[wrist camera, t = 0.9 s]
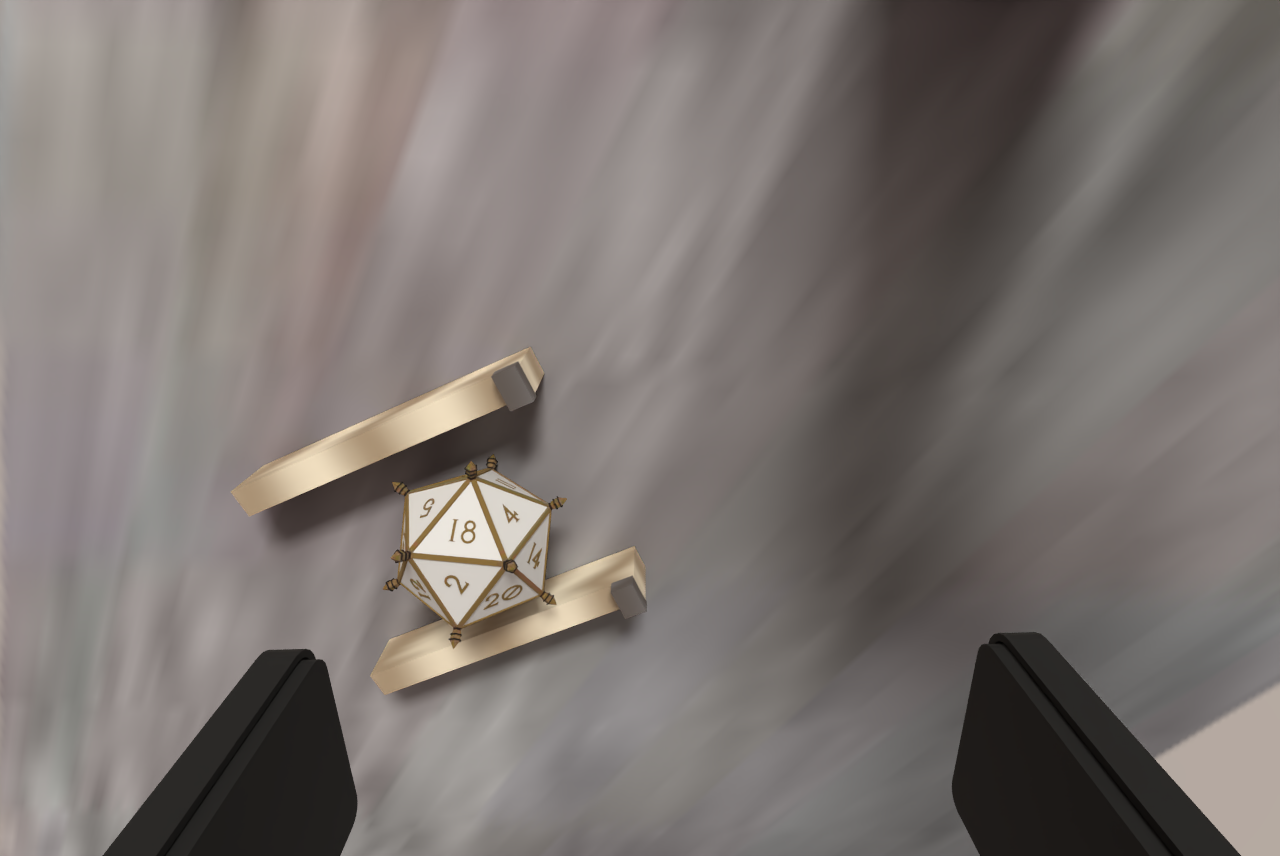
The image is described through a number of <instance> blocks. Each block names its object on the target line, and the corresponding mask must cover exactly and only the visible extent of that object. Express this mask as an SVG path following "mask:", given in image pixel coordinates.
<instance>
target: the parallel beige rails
mask: <svg viewBox="0 0 1280 856" xmlns="http://www.w3.org/2000/svg"><path fill="white" fill-rule="evenodd" d="M543 375H544V372H543V370H542V368H541V366H540V364H539V362H538V360H537V358H536V356H535V355H534V353H533V351H532V349H531V347H529V348H526V349H524V350H522V351H520V352H517V353H515V354H513V355H511V356H509V357H506V358H504V359H502V360H500V361H497V362H495V363H493V364H491V365H488V366H486V367H484V368H482V369H479V370H477V371H475V372H473V373H470V374H468V375H466V376H464V377H461V378H459V379H457V380H455V381H452V382H450V383H448V384H446V385H443V386H441V387H439V388H437V389H434V390H432V391H430V392H428V393H425V394H423V395H421V396H419V397H416V398H414V399H412V400H410V401H407V402H405V403H403V404H401V405H398V406H396V407H394V408H392V409H390V410H387V411H385V412H383V413H381V414H378V415H376V416H374V417H372V418H369V419H367V420H365V421H363V422H360V423H358V424H356V425H354V426H351V427H349V428H347V429H345V430H342V431H340V432H338V433H336V434H333V435H331V436H329V437H327V438H324V439H322V440H320V441H318V442H315V443H313V444H311V445H309V446H306V447H304V448H302V449H300V450H297V451H295V452H293V453H291V454H288V455H286V456H284V457H282V458H279V459H277V460H275V461H273V462H270V463H268V464H266V465H264V466H262V467H261V468H260V469H259V470H257V471H256V472H255V473H254V474H252V475H251V476H250V477H249V478H247V479H246V480H245V481H244V482H242V483H241V484H240V485H239V486H237V487H236V488H235V489H234V490H232V491H231V493H232V494H233V496H234V497H235V498H236V500H237V501H238V502H239V504H240V505H241V506H242V508H243V509H244V510H245V511H246V513H247V514H248V515H249V516H251V515H254V514H256V513H258V512H261V511H263V510H265V509H268V508H270V507H272V506H275V505H277V504H279V503H282V502H284V501H286V500H289V499H291V498H293V497H295V496H298V495H300V494H302V493H305V492H307V491H309V490H312V489H314V488H316V487H319V486H321V485H323V484H326V483H328V482H330V481H332V480H335V479H337V478H339V477H342V476H344V475H346V474H349V473H351V472H353V471H356V470H358V469H360V468H363V467H365V466H367V465H369V464H372V463H374V462H376V461H379V460H381V459H383V458H386V457H388V456H390V455H393V454H395V453H397V452H400V451H402V450H404V449H406V448H409V447H411V446H413V445H416V444H418V443H420V442H423V441H425V440H427V439H430V438H432V437H434V436H437V435H439V434H441V433H443V432H446V431H448V430H450V429H453V428H455V427H457V426H460V425H462V424H464V423H467V422H469V421H471V420H474V419H476V418H478V417H480V416H483V415H485V414H487V413H490V412H492V411H494V410H497V409H499V408H501V407H504V406H506V405H507V407H508V408H509V410H510V412H511V411H513V410H516V409H518V408H520V407H523V406H525V405H527V404H529V403H532V402H534V400H535V398H536V396H537V395H536V394H535V392H536V390H537V388H538V386H539V384H540V382H541V379H542V377H543ZM544 591H545V592H547V593H549V592H550V594H551V595H554V598H555V601H556V604H557V605H550V604H548V605H546V604H547V603H546V602H543V600H542V598H541V597H537V598H535V599H533V600H530V601H528V602H525V603H523V604H521V605H518V606H516V607H513V608H511V609H509V610H506V611H504V612H501V613H499V614H497V615H494V616H492V617H489V618H487V619H485V620H482V621H480V622H477V623H475V624H472V625H470V626H468V627H465V628H463V629H461V634H462V636H461V642H459V643H458V644H457V645H456V647H455V648H454V649H453V647H452V645H451V642H450V640H448V639H449V638H450V637H451V635H450V633H452V631H453V627H452V626H451V625H450V624H448V623H447V622H446V621H445V620H444V619H442V620H439V621H437V622H434V623H431V624H429V625H426V626H423V627H421V628H418V629H416V630H413V631H410V632H408V633H405V634H402V635H400V636H397V637H395V638H392V639H390V640H389V641H388V643H387V645H386V647H385V649H384V651H383V653H382V655H381V656H380V658H379V660H378V662H377V664H376V666H375V668H374V670H373V671H372V673H371V675H370V676H371V678H372V679H373V680H374V681H375V683H376V684H377V685H378V687H379V688H380V689H381V691H382V692H383V693H384V695H386V694H389V693H392V692H394V691H397V690H400V689H403V688H405V687H408V686H411V685H414V684H416V683H419V682H422V681H424V680H427V679H430V678H433V677H435V676H438V675H441V674H444V673H446V672H449V671H452V670H455V669H457V668H460V667H463V666H465V665H468V664H471V663H474V662H476V661H479V660H482V659H485V658H487V657H490V656H493V655H496V654H498V653H501V652H504V651H507V650H509V649H512V648H515V647H517V646H520V645H523V644H526V643H528V642H531V641H534V640H537V639H539V638H542V637H545V636H548V635H550V634H553V633H556V632H558V631H561V630H564V629H567V628H569V627H572V626H575V625H578V624H580V623H583V622H586V621H589V620H591V619H594V618H597V617H599V616H602V615H605V614H608V613H610V612H613V611H616V610H619V609H620V611H621V612H622V614H623V616H624V618H625V619H627V618H630V617H633V616H636V615H638V614H641V613H644V612H647V602H646V600H645V565H644V564H643V562H642V560H641V558H640V556H639V554H638V552H637V550H636V548H635V546H633V547H631V548H628V549H626V550H623V551H620V552H618V553H615V554H612V555H610V556H607V557H605V558H602V559H599V560H597V561H594V562H591V563H589V564H586V565H584V566H581V567H578V568H576V569H573V570H570V571H568V572H565V573H563V574H560V575H557V576H555V577H552V578H549V579H547V580H545V586H544Z"/></svg>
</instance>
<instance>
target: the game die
mask: <svg viewBox="0 0 1280 856" xmlns="http://www.w3.org/2000/svg"><path fill="white" fill-rule="evenodd" d="M497 462H498V461H497V460H496V458H495V456H494V454H493V455H492V456H491V457H490V458H488V459H487V464H486V465H487V468H486V469H483V470H480V471H477V465H475V464H474V463H473V462H472V461H471V462H470V463H469V464H468V465H467V466H466V467H465V468H464V469H465V470H466V472H465V474H466V475H462V476H459V477H455V478H452V479H448V480H445V481H441V482H438V483H434V484H431V485H428V486H424V487H421V488H417V489H414V490H408V488H407V485H404V484H403V482H401V483H398V482H392V483H393V486H394V489H395V492H398V493H399V494H402V495H404V496H405V502H404V513H403V524H402V535H401V546H400V551H399V550H396V552H395V553H394V555H393V556H392V557H391V559H393V560H394V561H395V563H399V567H398V578H397V579H394V578H393V579H392V580H389V581H387V582H386V585H385V586H384V588H383V589H382V590H390V591H393V590H394V589H397V587H398V586H399V585H402V586H403V587H405V588H406V589H407V590H408V591H409V592H411V593H412V594H413V595H414V596H416V597H417V598H418V599H419V600H420V601H422V602H423V603H424V604H425V605H426V606H428V607H429V608H430V609H431V610H433V611H434V612H435V613H436V614H437V615H439V616H440V617H441V618H442V619H444V620H445V621H446V622H447V623H448V624H450V625H451V626H452V627H453V631H452V633H450V635H451V637H450V638H449V639H448V640H450V642H451V645H452V647H453V649H454V648H455V647H456V645H457V644H458V643H459V642H461V636H462V634H461V629H463V628H465V627H468V626H470V625H472V624H475V623H477V622H480V621H482V620H485V619H487V618H489V617H492V616H494V615H497V614H499V613H501V612H504V611H506V610H509V609H511V608H513V607H516V606H518V605H521V604H523V603H525V602H528V601H530V600H533V599H535V598H537V597H541V598H542V600H543V602H546V603H547V604H546V605H548V604H550V605H557V604H556V601H555V598H554V595H551V594H550V592H549V593H547V592H545V591H544V586H545V575H546V564H547V554H548V543H549V532H550V522H551V511H552V509H558V508H559V507H562V506H563V504H564V502H565V501H566V500H567V498H559V497H558V496H557V498H556V499H552V500H553V501H552V502H551V503H547V502H545V501H544V500H542V499H540V498H539V497H537V496H535V495H534V494H532V493H531V492H529V491H527V490H526V489H524V488H523V487H521V486H519V485H518V484H516V483H515V482H513V481H511V480H510V479H508V478H507V477H505V476H503V475H502V474H500V473H499V472H497V471H495V470H494V468H495V467H496V466H497V465H496V463H497Z"/></svg>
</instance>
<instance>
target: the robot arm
mask: <svg viewBox="0 0 1280 856" xmlns="http://www.w3.org/2000/svg"><path fill="white" fill-rule="evenodd" d="M952 793H953V799H954V802H955V806H956V809H957V811H958V813H959V815H960V817H961V819H962V821H963V823H964V825H965V827H966V829H967V831H968V833H969V835H970V837H971V839H972V841H973V843H974V844H975V846H976V848H977V850H978V852H979V854H980V856H1241V855H1240V854H1239V853H1238V852H1237V851H1236V850H1235V848H1234V847H1233V846H1232V845H1231V844H1230V843H1229V842H1228V841H1227V839H1225V837H1224V836H1223V835H1222V834H1221V833H1220V832H1219V831H1218V829H1217V828H1216V827H1215V826H1214V825H1213V824H1212V823H1211V822H1210V821H1209V819H1208V818H1207V817H1206V816H1205V815H1204V814H1203V813H1202V812H1201V810H1200V809H1199V808H1198V807H1197V806H1196V805H1195V804H1194V803H1193V802H1192V800H1191V799H1190V798H1189V797H1188V796H1187V795H1186V794H1185V793H1184V792H1183V790H1182V789H1181V788H1180V787H1179V786H1178V785H1177V784H1176V783H1175V782H1174V780H1173V779H1172V778H1171V777H1170V776H1169V775H1168V774H1167V773H1166V771H1165V770H1164V769H1163V768H1162V767H1161V766H1160V765H1159V764H1158V763H1157V761H1156V760H1155V759H1154V758H1153V757H1152V756H1151V755H1150V754H1149V752H1148V751H1147V750H1146V749H1145V748H1144V747H1143V746H1142V745H1141V744H1140V742H1139V741H1138V740H1137V739H1136V738H1135V737H1134V736H1133V735H1132V734H1131V732H1130V731H1129V730H1128V729H1127V728H1126V727H1125V726H1124V725H1123V723H1122V722H1121V721H1120V720H1119V719H1118V718H1117V717H1116V716H1115V715H1114V713H1113V712H1112V711H1111V710H1110V709H1109V708H1108V707H1107V706H1106V705H1105V703H1104V702H1103V701H1102V700H1101V699H1100V698H1099V697H1098V696H1097V695H1096V693H1095V692H1094V691H1093V690H1092V689H1091V688H1090V687H1089V686H1088V684H1087V683H1086V682H1085V681H1084V680H1083V679H1082V678H1081V677H1080V676H1079V674H1078V673H1077V672H1076V671H1075V670H1074V669H1073V668H1072V667H1071V666H1070V664H1069V663H1068V662H1067V661H1066V660H1065V659H1064V658H1063V657H1062V655H1061V654H1060V653H1059V652H1058V651H1057V650H1056V649H1055V648H1054V647H1053V645H1052V644H1051V643H1050V642H1049V641H1048V640H1047V639H1046V638H1045V637H1044V636H1043V635H1041V634H1039V633H1036V632H1029V633H997V634H994V635H993V636H992V637H991V638H990V641H989V644H984V645H981V647H980V648H979V650H978V654H977V659H976V664H975V669H974V674H973V679H972V684H971V689H970V694H969V699H968V704H967V710H966V715H965V720H964V725H963V730H962V735H961V740H960V745H959V750H958V755H957V760H956V765H955V770H954V775H953V780H952ZM356 812H357V794H356V790H355V785H354V781H353V777H352V772H351V768H350V764H349V760H348V755H347V751H346V747H345V742H344V738H343V734H342V730H341V725H340V721H339V717H338V712H337V708H336V704H335V700H334V695H333V691H332V687H331V682H330V678H329V674H328V670H327V666H326V663H325V662H324V661H323V660H320V659H317V660H316V659H315V656H314V654H313V653H312V651H311V650H308V649H290V650H267V651H265V652H263V653H262V654H261V655H260V656H259V657H258V658H257V659H256V660H255V662H254V663H253V664H252V666H251V667H250V668H249V669H248V671H247V672H246V673H245V675H244V676H243V677H242V678H241V680H240V681H239V682H238V683H237V685H236V686H235V687H234V689H233V690H232V691H231V692H230V694H229V695H228V696H227V698H226V699H225V700H224V701H223V703H222V704H221V705H220V706H219V708H218V709H217V710H216V712H215V713H214V714H213V715H212V717H211V718H210V719H209V721H208V722H207V723H206V724H205V726H204V727H203V728H202V729H201V731H200V732H199V733H198V735H197V736H196V737H195V738H194V740H193V741H192V742H191V744H190V745H189V746H188V747H187V749H186V750H185V751H184V752H183V754H182V755H181V756H180V758H179V759H178V760H177V761H176V763H175V764H174V765H173V767H172V768H171V769H170V770H169V772H168V773H167V774H166V775H165V777H164V778H163V779H162V781H161V782H160V783H159V784H158V786H157V787H156V788H155V790H154V791H153V792H152V793H151V795H150V796H149V797H148V798H147V800H146V801H145V802H144V804H143V805H142V806H141V807H140V809H139V810H138V811H137V813H136V814H135V815H134V816H133V818H132V819H131V820H130V821H129V823H128V824H127V825H126V827H125V828H124V829H123V830H122V832H121V833H120V834H119V836H118V837H117V838H116V839H115V841H114V842H113V843H112V844H111V846H110V847H109V848H108V850H107V851H106V852H105V853H104V855H103V856H340V855H341V853H342V850H343V848H344V846H345V843H346V841H347V839H348V836H349V834H350V832H351V829H352V827H353V824H354V821H355V817H356Z"/></svg>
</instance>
